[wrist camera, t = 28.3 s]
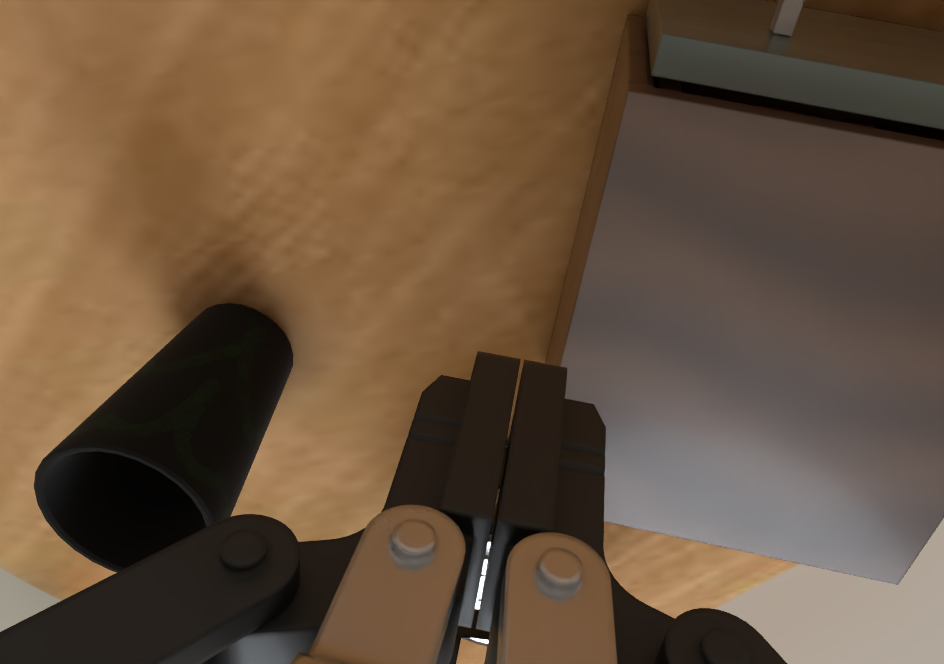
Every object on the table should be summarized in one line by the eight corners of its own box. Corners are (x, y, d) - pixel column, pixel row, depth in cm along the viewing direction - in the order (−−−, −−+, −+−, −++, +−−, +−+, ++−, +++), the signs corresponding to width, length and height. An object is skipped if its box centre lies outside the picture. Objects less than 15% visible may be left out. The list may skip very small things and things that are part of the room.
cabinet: (627, 13, 30) (627, 90, 22) (1022, 85, 29) (1168, 190, 22) (544, 363, 40) (524, 504, 32) (842, 425, 39) (898, 585, 31)
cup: (285, 278, 39) (171, 440, 29) (330, 402, 43) (243, 581, 33) (148, 293, 41) (-3, 450, 31) (203, 410, 45) (85, 582, 35)
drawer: (687, -155, 26) (707, -139, 20) (1107, -84, 26) (1267, -44, 19) (566, 334, 37) (553, 445, 31) (855, 393, 37) (904, 519, 30)
